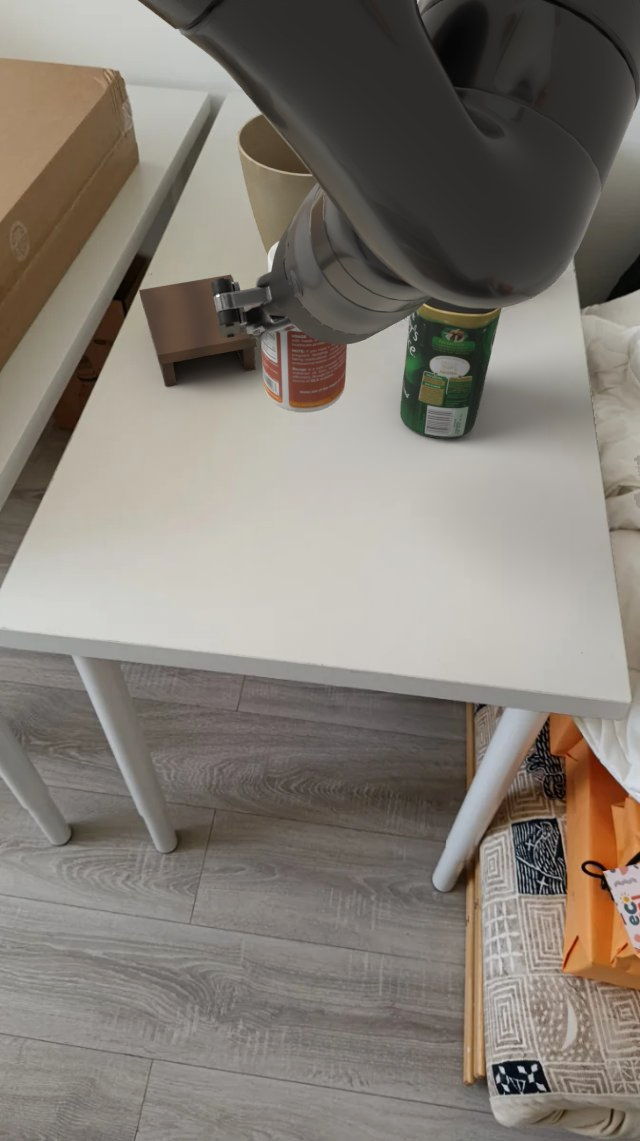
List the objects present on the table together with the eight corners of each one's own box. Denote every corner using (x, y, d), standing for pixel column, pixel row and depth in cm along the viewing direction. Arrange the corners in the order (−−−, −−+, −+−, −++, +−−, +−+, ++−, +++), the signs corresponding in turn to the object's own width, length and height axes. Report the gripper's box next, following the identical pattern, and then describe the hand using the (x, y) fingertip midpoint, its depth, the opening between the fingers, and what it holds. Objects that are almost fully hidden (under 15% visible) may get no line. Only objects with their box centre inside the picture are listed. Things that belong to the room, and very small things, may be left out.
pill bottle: (357, 375, 60) (367, 241, 51) (325, 426, 56) (330, 292, 47) (284, 353, 61) (281, 219, 52) (249, 401, 58) (239, 267, 49)
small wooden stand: (164, 390, 80) (157, 355, 76) (146, 325, 86) (138, 289, 82) (258, 372, 81) (256, 336, 78) (234, 309, 87) (231, 274, 84)
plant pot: (379, 315, 87) (391, 174, 74) (246, 318, 87) (235, 176, 74) (367, 240, 96) (376, 101, 83) (247, 242, 95) (237, 103, 82)
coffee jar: (404, 372, 82) (426, 202, 66) (480, 382, 81) (519, 213, 66) (392, 437, 76) (413, 267, 61) (473, 448, 75) (514, 280, 60)
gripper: (478, 160, 40) (382, 246, 56) (202, 198, 37) (185, 276, 53) (499, 309, 41) (400, 351, 57) (235, 356, 39) (209, 386, 55)
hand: (296, 315), depth 55 cm, fingers closed on pill bottle, 6 cm apart
